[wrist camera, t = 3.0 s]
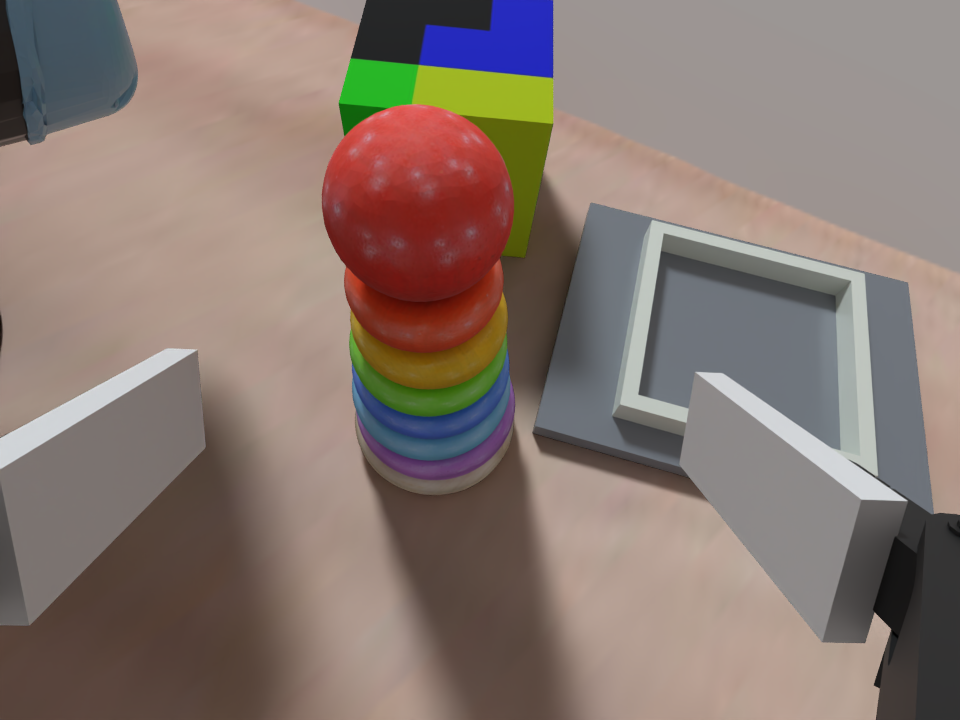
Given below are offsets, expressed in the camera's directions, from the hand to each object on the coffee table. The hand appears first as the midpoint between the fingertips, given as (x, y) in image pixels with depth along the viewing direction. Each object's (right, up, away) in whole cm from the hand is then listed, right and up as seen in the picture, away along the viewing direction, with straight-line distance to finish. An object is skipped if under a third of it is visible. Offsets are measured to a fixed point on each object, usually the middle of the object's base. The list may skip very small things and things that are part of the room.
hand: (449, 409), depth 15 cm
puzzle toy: (-1, +12, +23) cm, 26 cm away
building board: (+15, +2, +18) cm, 23 cm away
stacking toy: (-1, -2, +15) cm, 15 cm away
